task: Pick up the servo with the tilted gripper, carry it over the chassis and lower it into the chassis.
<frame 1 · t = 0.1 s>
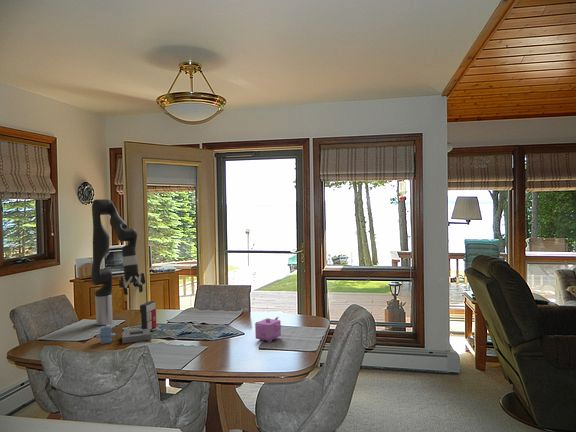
hand: (133, 293, 246), 22 cm above the table, tool pointing down, fingers open, 8 cm apart
chassis: (136, 338, 238), on the table
servo: (106, 342, 233), on the table
grey red upright box: (149, 329, 256), on the table
teapot: (268, 340, 230), on the table
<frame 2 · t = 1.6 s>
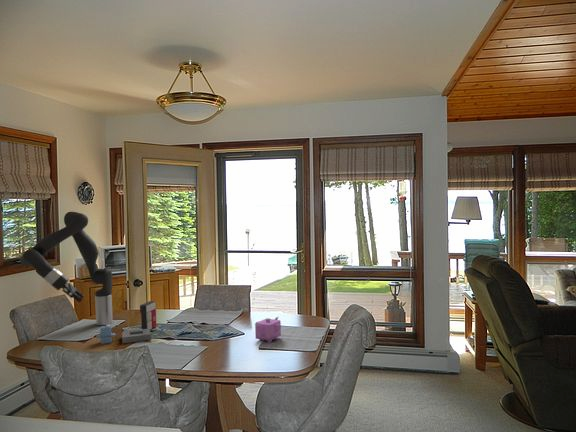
hand: (81, 299, 232), 23 cm above the table, tool tilted 45°, fingers open, 8 cm apart
nothing on the table moved.
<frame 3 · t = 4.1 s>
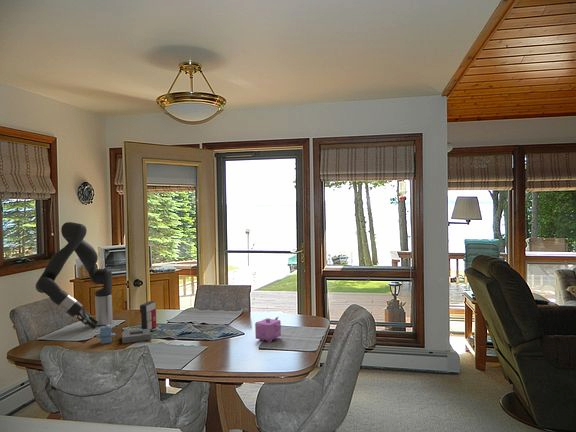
hand: (96, 325, 231), 9 cm above the table, tool tilted 45°, fingers open, 8 cm apart
nothing on the table moved.
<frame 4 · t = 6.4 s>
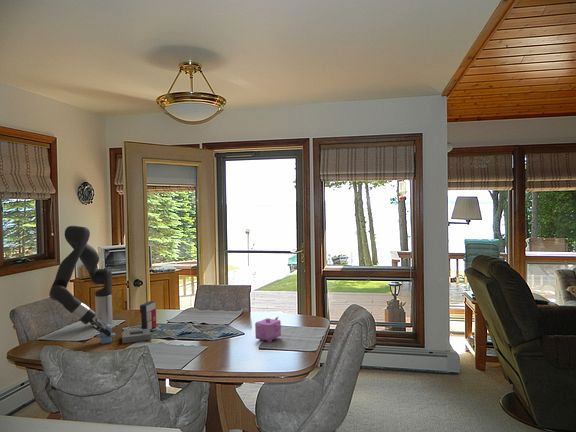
hand: (109, 333, 234), 4 cm above the table, tool tilted 45°, fingers closed on servo, 4 cm apart
servo: (106, 342, 233), on the table, touching gripper
everything else where it was.
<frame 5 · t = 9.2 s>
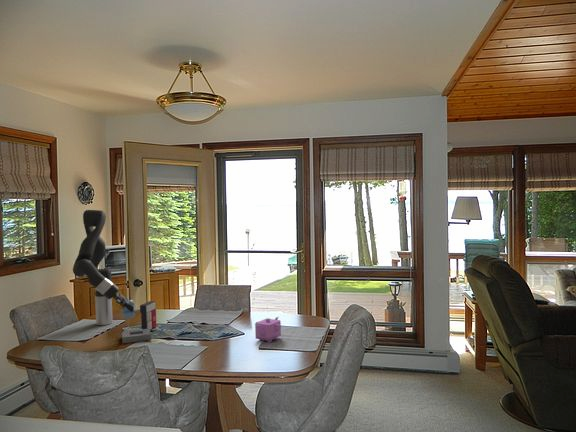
hand: (132, 309, 237), 16 cm above the table, tool tilted 45°, fingers closed on servo, 4 cm apart
servo: (129, 317, 237), point 12 cm above the table, touching gripper
everything else where it was.
when the fingers open (5 cm above the table, at t = 12.5 s): servo drops 1 cm, resting in chassis.
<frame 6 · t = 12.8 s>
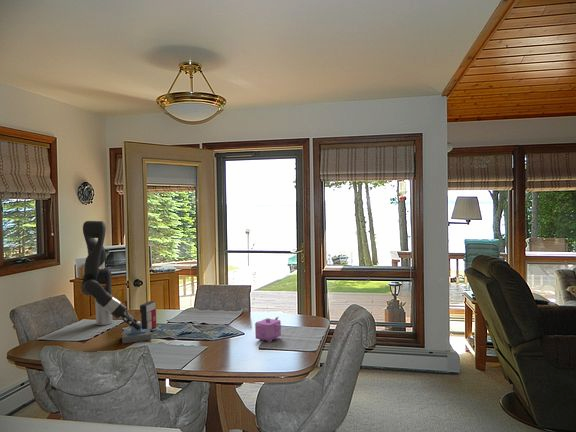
hand: (139, 327, 239), 6 cm above the table, tool tilted 45°, fingers open, 6 cm apart
servo: (136, 338, 238), resting in chassis
everything else where it was.
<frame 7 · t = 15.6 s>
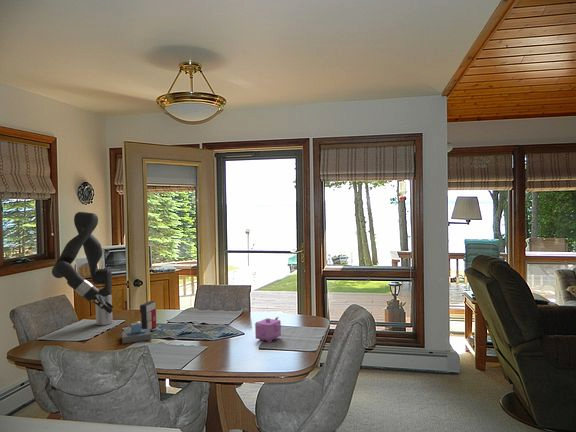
hand: (111, 310, 234), 16 cm above the table, tool tilted 45°, fingers open, 8 cm apart
nothing on the table moved.
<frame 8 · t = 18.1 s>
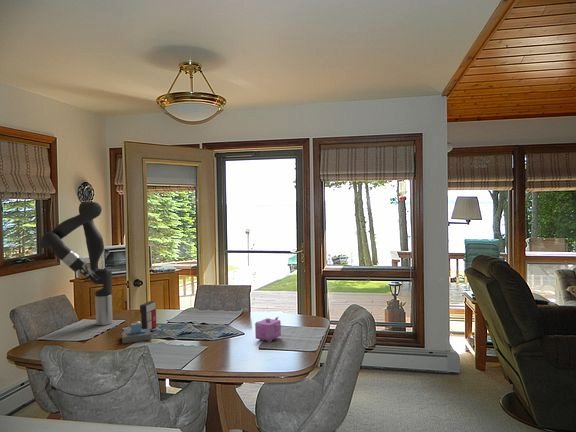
hand: (97, 280, 242), 31 cm above the table, tool tilted 45°, fingers open, 8 cm apart
servo: (136, 338, 238), resting in chassis
everything else where it was.
at the end: servo 0.0 cm off-centre on the chassis, point 0.0 cm above the chassis's base; servo tilted 0°; the gripper is holding nothing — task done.
